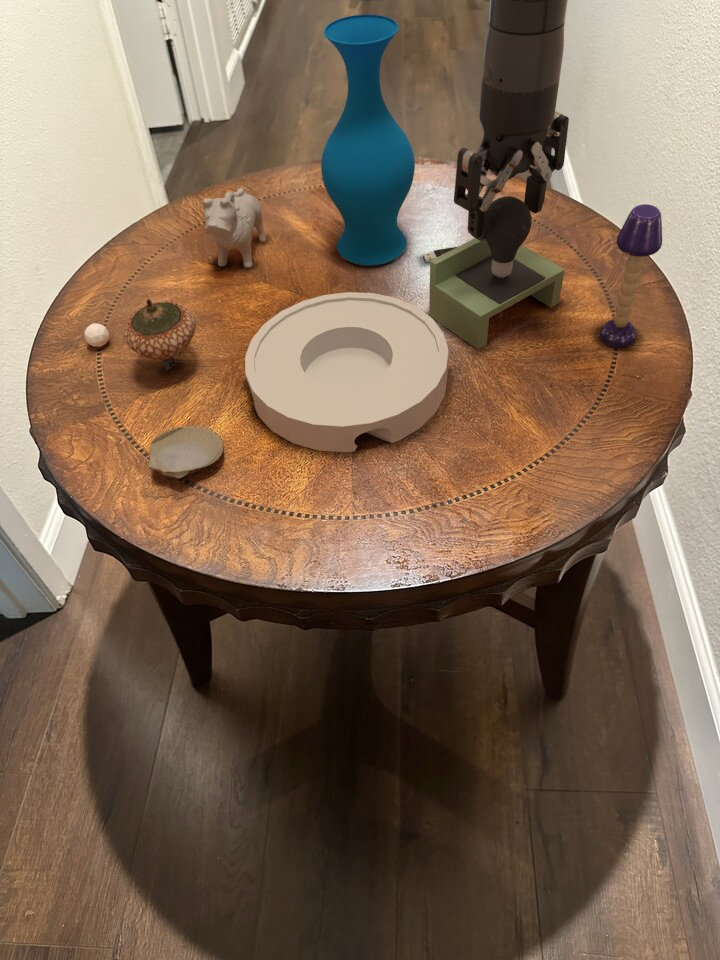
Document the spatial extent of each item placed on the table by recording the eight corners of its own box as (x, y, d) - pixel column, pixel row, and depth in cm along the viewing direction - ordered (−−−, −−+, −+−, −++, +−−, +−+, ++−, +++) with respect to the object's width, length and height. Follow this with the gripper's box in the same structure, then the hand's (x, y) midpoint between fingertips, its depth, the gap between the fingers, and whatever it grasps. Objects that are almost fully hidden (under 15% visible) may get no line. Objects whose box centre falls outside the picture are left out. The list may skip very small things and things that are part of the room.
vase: (418, 224, 108) (419, 7, 87) (410, 275, 100) (409, 50, 79) (337, 222, 110) (318, 9, 89) (322, 272, 102) (298, 50, 81)
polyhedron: (113, 336, 95) (106, 317, 93) (110, 351, 94) (102, 332, 91) (91, 338, 95) (83, 319, 93) (87, 353, 94) (79, 334, 91)
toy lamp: (627, 354, 88) (663, 226, 75) (589, 342, 89) (617, 215, 77) (640, 331, 90) (677, 203, 77) (603, 320, 92) (633, 193, 79)
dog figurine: (207, 282, 102) (189, 210, 94) (235, 230, 110) (220, 160, 102) (244, 284, 101) (229, 212, 93) (269, 232, 109) (257, 162, 101)
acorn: (194, 337, 94) (175, 269, 87) (214, 375, 89) (196, 307, 82) (131, 358, 92) (105, 290, 85) (147, 398, 87) (122, 330, 80)
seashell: (235, 459, 83) (178, 423, 84) (238, 440, 80) (179, 404, 82) (188, 502, 77) (127, 464, 79) (190, 483, 75) (128, 444, 76)
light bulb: (471, 285, 89) (476, 208, 82) (485, 259, 93) (491, 183, 85) (517, 294, 88) (526, 216, 80) (529, 267, 91) (540, 190, 83)
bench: (508, 272, 99) (514, 217, 93) (559, 303, 95) (569, 247, 89) (428, 315, 95) (429, 260, 88) (477, 350, 90) (482, 294, 84)
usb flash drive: (426, 265, 102) (426, 259, 101) (422, 257, 103) (422, 251, 102) (481, 256, 103) (481, 249, 102) (476, 248, 104) (477, 242, 103)
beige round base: (384, 481, 77) (382, 455, 74) (210, 408, 86) (202, 382, 83) (480, 352, 89) (483, 325, 86) (320, 299, 98) (317, 273, 95)
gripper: (494, 107, 68) (482, 261, 80) (600, 62, 73) (574, 213, 85) (440, 83, 72) (436, 233, 84) (544, 41, 77) (526, 189, 90)
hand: (505, 223), depth 85 cm, fingers open, 8 cm apart
